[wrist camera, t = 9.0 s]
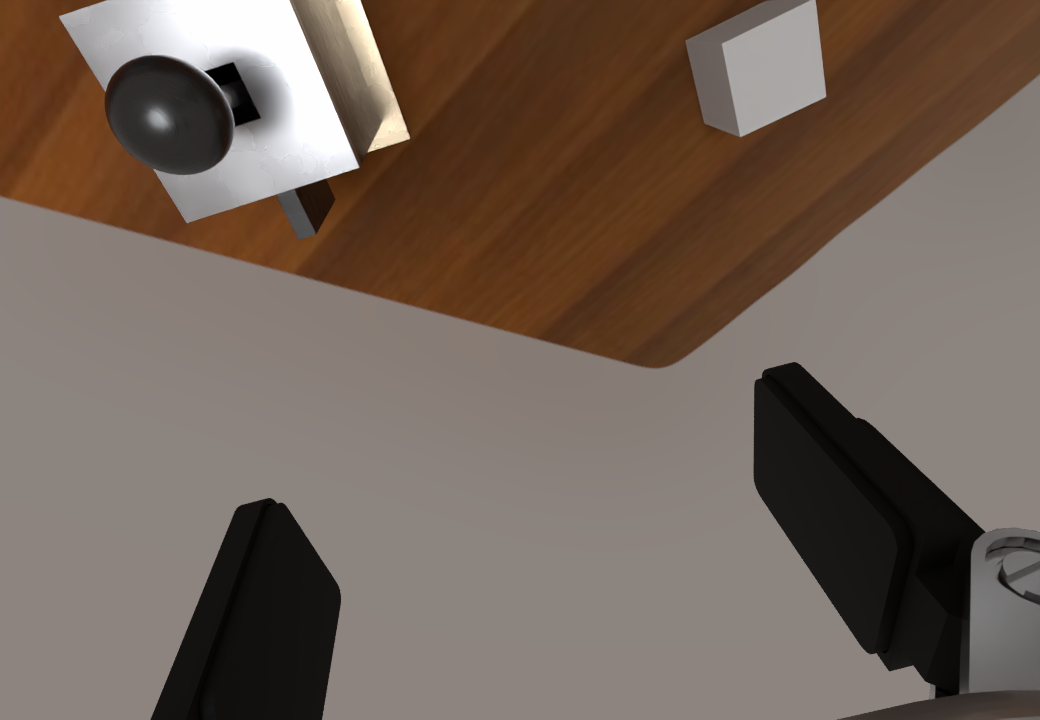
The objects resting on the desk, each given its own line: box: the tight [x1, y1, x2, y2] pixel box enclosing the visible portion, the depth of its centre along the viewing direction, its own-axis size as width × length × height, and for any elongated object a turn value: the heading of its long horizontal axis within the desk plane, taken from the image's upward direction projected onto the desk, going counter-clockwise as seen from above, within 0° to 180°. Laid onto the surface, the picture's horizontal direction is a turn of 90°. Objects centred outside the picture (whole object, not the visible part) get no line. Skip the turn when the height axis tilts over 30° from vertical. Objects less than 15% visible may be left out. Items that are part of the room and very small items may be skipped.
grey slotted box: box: [59, 0, 410, 240], centre depth 31 cm, size 12×13×14 cm
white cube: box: [685, 0, 826, 137], centre depth 38 cm, size 6×6×6 cm
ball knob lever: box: [105, 55, 261, 175], centre depth 26 cm, size 6×6×17 cm
